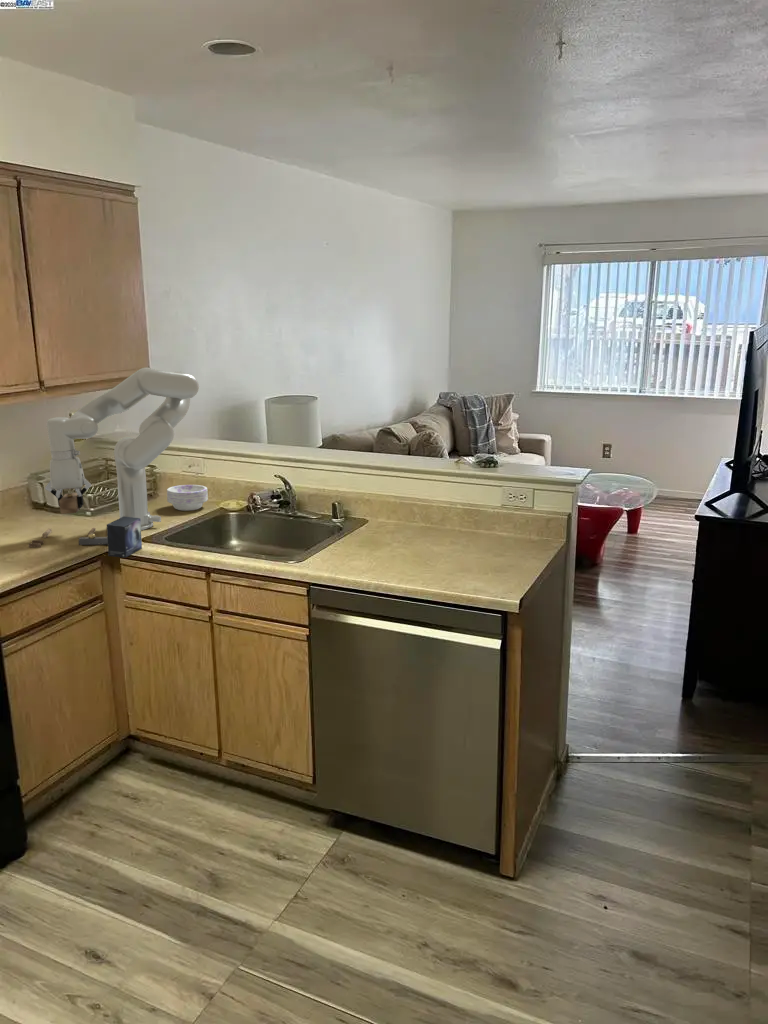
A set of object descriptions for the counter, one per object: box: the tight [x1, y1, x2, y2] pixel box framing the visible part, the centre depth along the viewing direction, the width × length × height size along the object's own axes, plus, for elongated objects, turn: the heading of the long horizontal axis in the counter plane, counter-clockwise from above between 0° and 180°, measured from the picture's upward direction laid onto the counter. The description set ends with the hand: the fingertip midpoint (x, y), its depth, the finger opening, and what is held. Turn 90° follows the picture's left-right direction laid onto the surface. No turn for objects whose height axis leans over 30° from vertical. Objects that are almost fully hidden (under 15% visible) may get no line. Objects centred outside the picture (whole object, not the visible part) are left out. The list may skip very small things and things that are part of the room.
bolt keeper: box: [28, 539, 45, 548], centre depth 253 cm, size 4×4×1 cm
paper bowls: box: [166, 484, 209, 512], centre depth 302 cm, size 15×15×8 cm
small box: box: [106, 516, 143, 559], centre depth 247 cm, size 11×6×10 cm, turn 168°
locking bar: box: [78, 533, 108, 546], centre depth 255 cm, size 12×2×3 cm, turn 98°
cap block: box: [58, 492, 84, 515], centre depth 263 cm, size 5×9×5 cm, turn 8°
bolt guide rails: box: [42, 527, 97, 539], centre depth 265 cm, size 16×7×1 cm, turn 98°
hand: (71, 507), depth 264 cm, fingers closed on cap block, 5 cm apart
